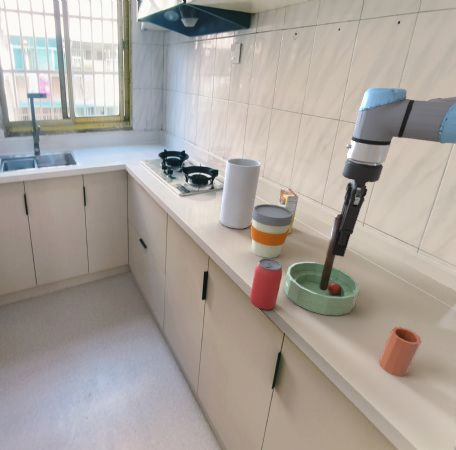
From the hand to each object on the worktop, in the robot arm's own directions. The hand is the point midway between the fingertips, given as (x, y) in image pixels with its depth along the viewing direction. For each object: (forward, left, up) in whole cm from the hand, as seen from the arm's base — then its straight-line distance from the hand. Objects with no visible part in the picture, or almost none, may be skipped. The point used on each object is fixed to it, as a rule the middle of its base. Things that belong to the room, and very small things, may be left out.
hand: (337, 252), depth 86 cm
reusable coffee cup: (+19, -20, -15) cm, 31 cm away
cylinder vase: (+34, -39, -15) cm, 54 cm away
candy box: (+16, -43, -15) cm, 48 cm away
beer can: (+15, +10, -15) cm, 23 cm away
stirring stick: (+1, 0, -12) cm, 12 cm away
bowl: (+2, 0, -14) cm, 14 cm away
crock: (-13, +20, -14) cm, 28 cm away
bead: (-2, -2, -12) cm, 12 cm away
